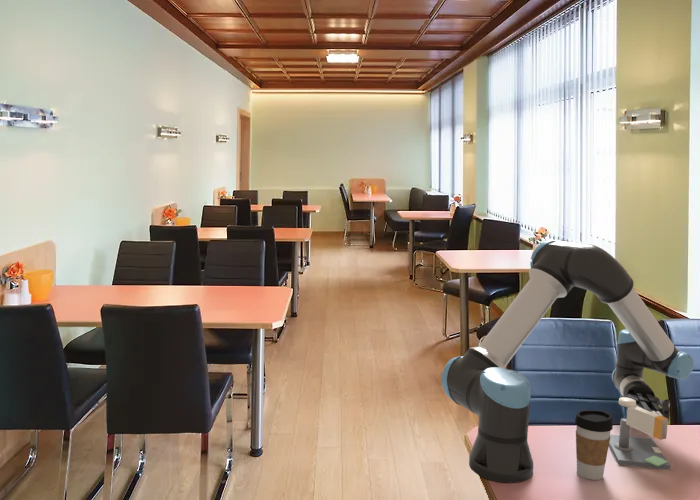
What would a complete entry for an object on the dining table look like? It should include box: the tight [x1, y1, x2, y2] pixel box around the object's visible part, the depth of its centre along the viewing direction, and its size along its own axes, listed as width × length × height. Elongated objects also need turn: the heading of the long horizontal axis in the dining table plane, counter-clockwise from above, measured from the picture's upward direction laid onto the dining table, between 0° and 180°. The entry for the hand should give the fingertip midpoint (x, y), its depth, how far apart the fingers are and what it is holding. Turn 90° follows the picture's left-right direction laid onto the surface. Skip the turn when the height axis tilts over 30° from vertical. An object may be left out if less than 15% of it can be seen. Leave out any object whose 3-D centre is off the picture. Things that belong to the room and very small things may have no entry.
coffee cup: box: [574, 409, 614, 481], centre depth 147 cm, size 8×8×15 cm
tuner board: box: [608, 433, 671, 471], centre depth 159 cm, size 12×18×2 cm
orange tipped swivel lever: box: [618, 397, 669, 448], centre depth 155 cm, size 13×4×12 cm, turn 26°
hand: (662, 426), depth 152 cm, fingers closed
